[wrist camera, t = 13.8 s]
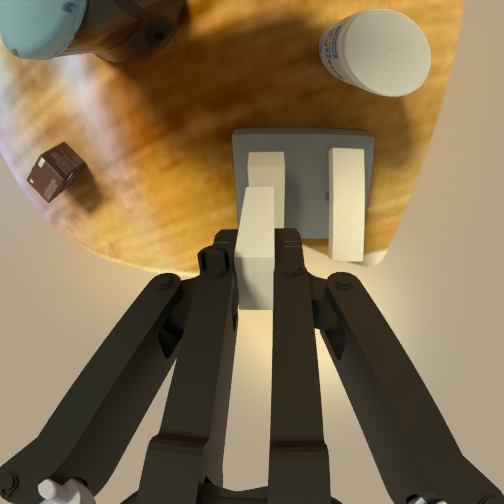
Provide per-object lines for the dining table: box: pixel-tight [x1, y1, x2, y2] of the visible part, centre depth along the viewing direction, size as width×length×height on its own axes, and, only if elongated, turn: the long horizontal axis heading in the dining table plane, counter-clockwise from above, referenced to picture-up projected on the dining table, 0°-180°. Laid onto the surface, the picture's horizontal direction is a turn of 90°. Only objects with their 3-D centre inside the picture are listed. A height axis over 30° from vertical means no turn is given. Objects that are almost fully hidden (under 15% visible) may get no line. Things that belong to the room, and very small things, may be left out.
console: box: [232, 127, 375, 239], centre depth 43 cm, size 19×16×7 cm
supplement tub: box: [319, 9, 431, 97], centre depth 28 cm, size 10×10×15 cm
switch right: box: [328, 148, 365, 262], centre depth 38 cm, size 4×14×3 cm, turn 3°
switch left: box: [247, 152, 285, 228], centre depth 39 cm, size 4×14×3 cm, turn 3°
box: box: [27, 142, 85, 203], centre depth 43 cm, size 6×6×7 cm
